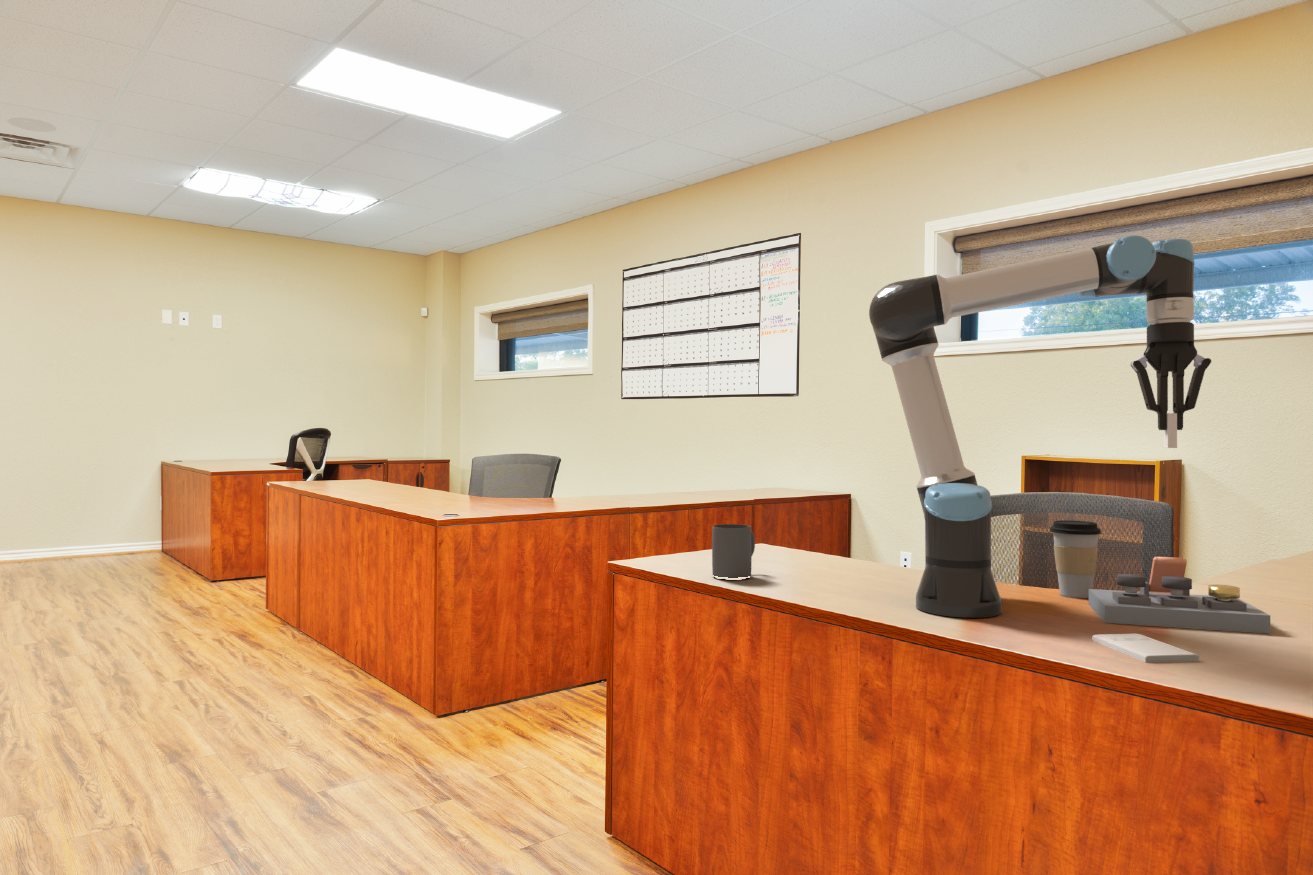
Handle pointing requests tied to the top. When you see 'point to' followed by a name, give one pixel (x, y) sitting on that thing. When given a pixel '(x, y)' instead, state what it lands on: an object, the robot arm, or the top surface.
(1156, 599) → the control panel
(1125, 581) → the black button left
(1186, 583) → the black button mid
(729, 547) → the mug
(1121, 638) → the external hard drive
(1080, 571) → the coffee cup
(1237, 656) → the top surface
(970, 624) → the top surface
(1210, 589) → the brass button
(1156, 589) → the paddle lever
